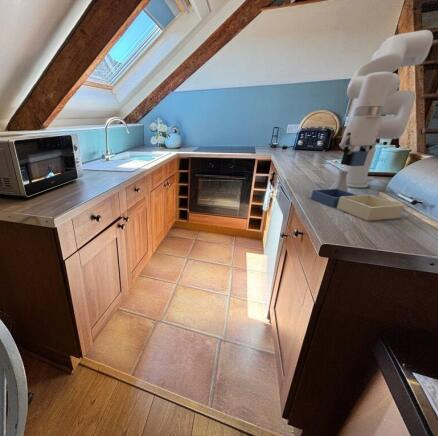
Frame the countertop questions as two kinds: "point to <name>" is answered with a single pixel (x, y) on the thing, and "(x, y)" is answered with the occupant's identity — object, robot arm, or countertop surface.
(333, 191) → the blue bin
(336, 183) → the flask
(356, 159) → the blue block
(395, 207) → the cream bin
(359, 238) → the countertop surface
